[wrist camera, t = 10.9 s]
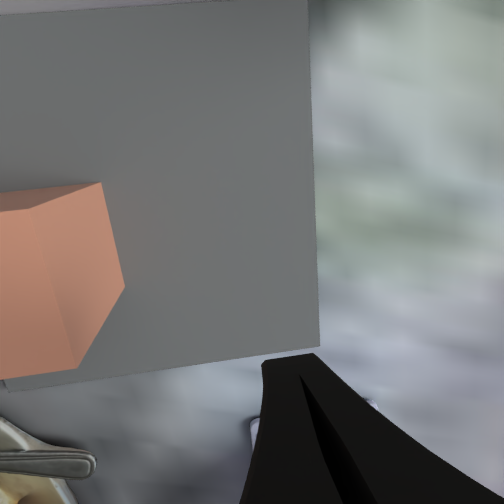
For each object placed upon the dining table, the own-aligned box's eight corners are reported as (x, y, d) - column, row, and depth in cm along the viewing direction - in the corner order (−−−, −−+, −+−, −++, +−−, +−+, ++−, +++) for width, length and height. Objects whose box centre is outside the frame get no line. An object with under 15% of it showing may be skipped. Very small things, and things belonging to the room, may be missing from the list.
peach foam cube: (124, 286, 17) (77, 368, 11) (16, 300, 17) (-97, 394, 11) (100, 181, 16) (28, 208, 9) (-20, 194, 15) (-178, 231, 9)
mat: (318, 342, 20) (320, 346, 20) (12, 387, 19) (8, 392, 18) (305, -1, 15) (307, -5, 14) (-123, 27, 13) (-133, 23, 13)
